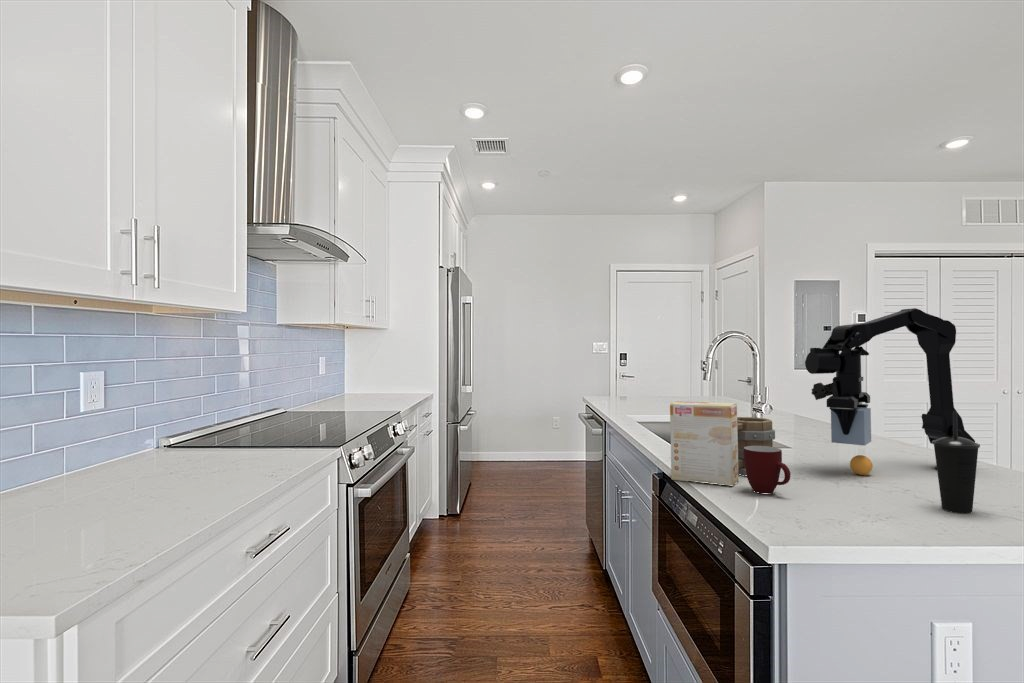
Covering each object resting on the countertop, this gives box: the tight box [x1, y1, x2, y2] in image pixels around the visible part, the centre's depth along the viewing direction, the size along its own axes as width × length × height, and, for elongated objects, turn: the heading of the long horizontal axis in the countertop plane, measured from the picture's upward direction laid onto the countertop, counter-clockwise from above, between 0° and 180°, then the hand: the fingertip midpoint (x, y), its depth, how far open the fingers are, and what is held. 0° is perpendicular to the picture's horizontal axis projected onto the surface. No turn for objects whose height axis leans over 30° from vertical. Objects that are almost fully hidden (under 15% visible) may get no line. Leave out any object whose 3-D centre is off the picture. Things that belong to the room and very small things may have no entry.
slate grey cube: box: [830, 407, 872, 446], centre depth 147 cm, size 8×8×9 cm
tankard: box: [737, 416, 776, 476], centre depth 149 cm, size 20×13×15 cm, turn 123°
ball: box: [849, 454, 874, 476], centre depth 145 cm, size 5×5×5 cm
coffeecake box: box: [669, 400, 739, 486], centre depth 141 cm, size 15×7×20 cm, turn 57°
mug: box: [744, 446, 791, 494], centre depth 129 cm, size 11×8×10 cm
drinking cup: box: [931, 410, 981, 514], centre depth 114 cm, size 8×8×20 cm
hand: (849, 432), depth 147 cm, fingers closed on slate grey cube, 7 cm apart
